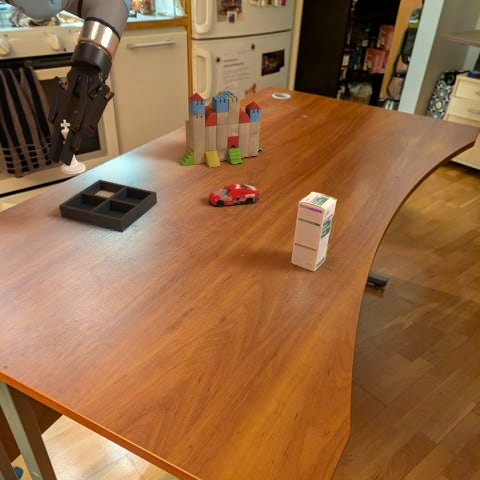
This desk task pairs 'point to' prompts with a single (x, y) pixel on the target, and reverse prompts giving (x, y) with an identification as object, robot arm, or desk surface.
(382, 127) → the desk surface
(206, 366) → the desk surface
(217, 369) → the desk surface
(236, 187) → the race car
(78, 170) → the chess piece
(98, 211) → the grid
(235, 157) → the block set
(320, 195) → the syrup box
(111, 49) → the robot arm
